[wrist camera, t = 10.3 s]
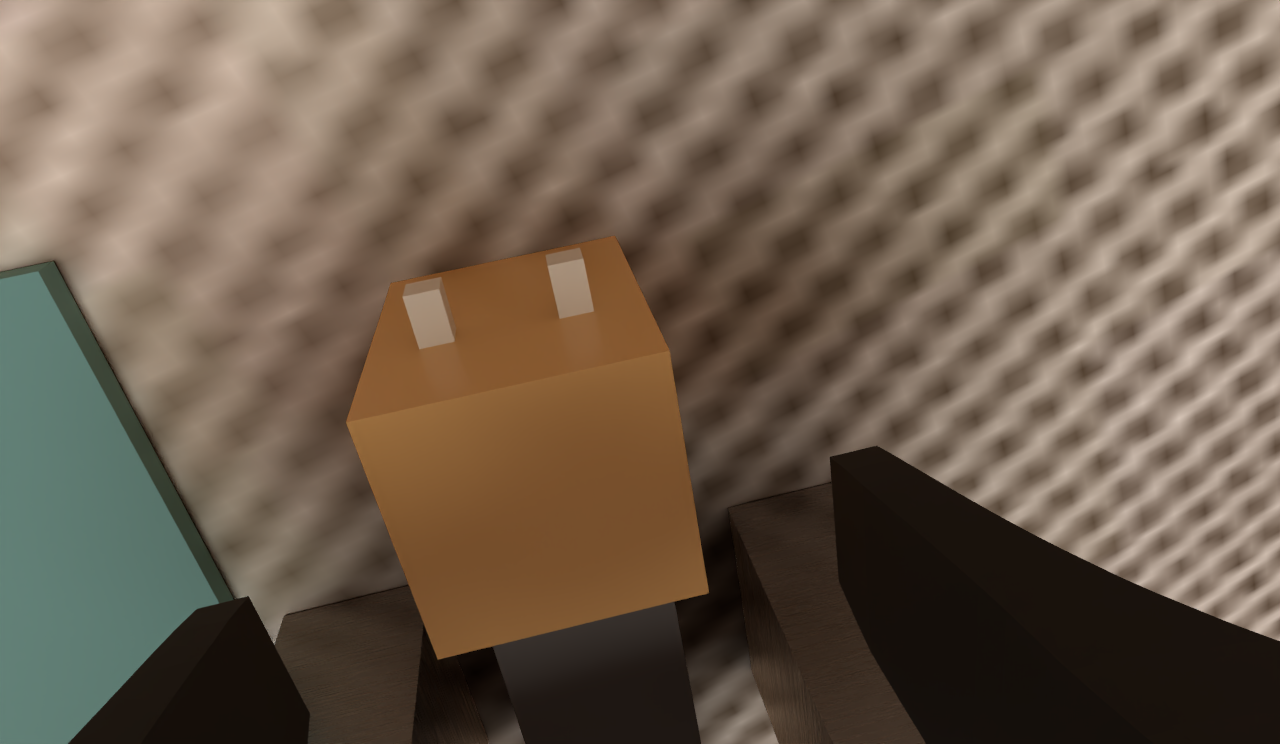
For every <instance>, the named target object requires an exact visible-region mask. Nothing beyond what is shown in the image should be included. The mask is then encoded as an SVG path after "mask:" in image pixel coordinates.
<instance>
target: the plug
mask: <svg viewBox="0 0 1280 744" xmlns="http://www.w3.org/2000/svg"><path fill="white" fill-rule="evenodd" d="M346 424H347V427H348V429H349V432H350V435H351V437H352V440H353V442H354V445H355V447H356V450H357V453H358V455H359V458H360V460H361V463H362V466H363V468H364V471H365V473H366V476H367V478H368V481H369V484H370V486H371V489H372V491H373V494H374V496H375V499H376V502H377V504H378V507H379V509H380V512H381V515H382V517H383V520H384V522H385V525H386V527H387V530H388V533H389V535H390V538H391V540H392V543H393V545H394V548H395V551H396V553H397V556H398V558H399V561H400V564H401V566H402V569H403V571H404V574H405V576H406V579H407V582H408V584H409V587H410V589H411V592H412V594H413V597H414V600H415V602H416V605H417V607H418V610H419V613H420V615H421V618H422V620H423V623H424V625H425V628H426V631H427V633H428V636H429V638H430V641H431V643H432V646H433V649H434V651H435V654H436V656H437V659H442V658H447V657H451V656H455V655H459V654H463V653H467V652H471V651H475V650H479V649H483V648H487V647H491V646H495V645H499V644H504V643H508V642H512V641H516V640H520V639H524V638H528V637H532V636H536V635H540V634H544V633H548V632H552V631H557V630H561V629H565V628H569V627H573V626H577V625H581V624H585V623H589V622H593V621H597V620H601V619H605V618H609V617H614V616H618V615H622V614H626V613H630V612H634V611H638V610H642V609H646V608H650V607H654V606H658V605H662V604H666V603H671V602H675V601H679V600H683V599H687V598H691V597H695V596H699V595H703V594H707V593H709V590H708V583H707V577H706V571H705V565H704V559H703V553H702V547H701V541H700V534H699V528H698V522H697V516H696V510H695V504H694V498H693V491H692V485H691V479H690V473H689V467H688V461H687V455H686V448H685V442H684V436H683V430H682V424H681V418H680V412H679V406H678V399H677V393H676V387H675V381H674V375H673V369H672V363H671V356H670V351H669V348H668V346H667V344H666V342H665V340H664V338H663V336H662V334H661V332H660V330H659V327H658V325H657V323H656V321H655V319H654V317H653V315H652V313H651V311H650V308H649V306H648V304H647V302H646V300H645V298H644V296H643V294H642V292H641V290H640V287H639V285H638V283H637V281H636V279H635V277H634V275H633V273H632V271H631V269H630V266H629V264H628V262H627V260H626V258H625V256H624V254H623V252H622V250H621V247H620V245H619V243H618V241H617V239H616V237H615V236H612V237H607V238H602V239H597V240H593V241H588V242H583V243H578V244H574V245H569V246H564V247H559V248H555V249H550V250H545V251H540V252H536V253H531V254H526V255H521V256H517V257H512V258H507V259H502V260H498V261H493V262H488V263H483V264H479V265H474V266H469V267H465V268H460V269H455V270H450V271H446V272H441V273H436V274H431V275H427V276H422V277H417V278H412V279H408V280H403V281H398V282H393V283H391V284H390V287H389V291H388V294H387V297H386V300H385V303H384V306H383V309H382V312H381V315H380V318H379V321H378V325H377V328H376V331H375V334H374V337H373V340H372V343H371V346H370V349H369V352H368V356H367V359H366V362H365V365H364V368H363V371H362V374H361V377H360V380H359V383H358V386H357V390H356V393H355V396H354V399H353V402H352V405H351V408H350V411H349V414H348V417H347V421H346Z"/></svg>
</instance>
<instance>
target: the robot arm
mask: <svg viewBox="0 0 1280 744" xmlns="http://www.w3.org/2000/svg"><path fill="white" fill-rule="evenodd" d="M830 466H831V480H832V494H833V508H834V522H835V536H836V551H837V565H838V579H839V583H840V585H841V588H842V590H843V592H844V594H845V597H846V599H847V601H848V604H849V606H850V608H851V610H852V613H853V615H854V617H855V619H856V622H857V624H858V626H859V628H860V630H861V632H862V634H863V637H864V639H865V641H866V643H867V645H868V647H869V649H870V652H871V653H872V655H873V657H874V658H875V660H876V662H877V664H878V665H879V667H880V669H881V670H882V672H883V674H884V675H885V677H886V679H887V680H888V682H889V684H890V685H891V687H892V689H893V690H894V692H895V694H896V695H897V697H898V699H899V700H900V702H901V704H902V705H903V707H904V709H905V710H906V712H907V713H908V715H909V717H910V718H911V720H912V722H913V723H914V725H915V727H916V728H917V730H918V731H919V733H920V735H921V736H922V738H923V740H924V741H925V743H926V744H1280V641H1277V640H1274V639H1272V638H1269V637H1266V636H1264V635H1261V634H1258V633H1255V632H1253V631H1250V630H1247V629H1245V628H1242V627H1239V626H1237V625H1234V624H1231V623H1229V622H1226V621H1223V620H1221V619H1219V618H1216V617H1214V616H1211V615H1209V614H1206V613H1204V612H1201V611H1199V610H1197V609H1194V608H1192V607H1189V606H1187V605H1184V604H1182V603H1179V602H1177V601H1175V600H1172V599H1170V598H1167V597H1165V596H1162V595H1160V594H1157V593H1155V592H1153V591H1150V590H1148V589H1146V588H1143V587H1141V586H1139V585H1137V584H1134V583H1132V582H1130V581H1128V580H1125V579H1123V578H1121V577H1119V576H1117V575H1114V574H1112V573H1110V572H1108V571H1106V570H1104V569H1102V568H1100V567H1098V566H1096V565H1094V564H1092V563H1090V562H1088V561H1086V560H1083V559H1081V558H1079V557H1077V556H1075V555H1073V554H1071V553H1069V552H1067V551H1065V550H1063V549H1061V548H1059V547H1057V546H1055V545H1053V544H1051V543H1049V542H1047V541H1045V540H1043V539H1041V538H1039V537H1037V536H1035V535H1033V534H1032V533H1030V532H1028V531H1026V530H1024V529H1022V528H1020V527H1018V526H1017V525H1015V524H1013V523H1011V522H1009V521H1007V520H1005V519H1004V518H1002V517H1000V516H998V515H996V514H995V513H993V512H991V511H989V510H987V509H986V508H984V507H982V506H980V505H978V504H977V503H975V502H973V501H971V500H970V499H968V498H966V497H964V496H963V495H961V494H959V493H957V492H956V491H954V490H952V489H951V488H949V487H947V486H945V485H944V484H942V483H940V482H939V481H937V480H935V479H933V478H932V477H930V476H928V475H927V474H925V473H923V472H921V471H920V470H918V469H916V468H915V467H913V466H911V465H910V464H908V463H906V462H904V461H903V460H901V459H899V458H898V457H896V456H894V455H892V454H891V453H889V452H887V451H885V450H883V449H882V448H880V447H878V446H874V447H870V448H866V449H861V450H857V451H853V452H849V453H845V454H841V455H836V456H832V457H830ZM309 721H310V713H309V711H308V709H307V707H306V705H305V703H304V701H303V699H302V697H301V695H300V694H299V692H298V690H297V688H296V686H295V684H294V682H293V680H292V678H291V676H290V674H289V673H288V671H287V669H286V667H285V665H284V663H283V661H282V659H281V657H280V655H279V653H278V652H277V650H276V648H275V646H274V644H273V642H272V640H271V638H270V636H269V634H268V632H267V631H266V629H265V627H264V625H263V623H262V621H261V619H260V617H259V615H258V613H257V611H256V610H255V608H254V606H253V604H252V602H251V600H250V598H249V596H248V597H244V598H240V599H235V600H231V601H227V602H223V603H219V604H215V605H210V606H206V607H202V608H198V609H196V610H195V611H194V612H193V613H192V614H191V615H190V616H189V617H188V618H187V619H186V620H185V621H183V622H182V623H181V624H180V625H179V626H178V627H177V628H176V629H175V630H174V631H173V632H172V633H171V634H170V636H169V637H168V638H167V639H166V640H165V641H164V642H163V643H162V644H161V645H160V646H159V647H158V648H157V649H156V650H155V651H154V652H153V653H152V654H151V655H150V656H149V658H148V659H147V660H146V661H145V662H144V663H143V664H142V665H141V666H140V667H139V668H138V669H137V670H136V671H135V672H134V674H133V675H132V676H131V677H130V678H129V679H128V680H127V681H126V682H125V683H124V684H123V685H122V686H121V688H120V689H119V690H118V691H117V692H116V693H115V694H114V695H113V696H112V697H111V698H110V699H109V700H108V701H107V703H106V704H105V705H104V706H103V707H102V708H101V709H100V710H99V711H98V712H97V713H96V714H95V715H94V716H93V717H92V718H91V720H90V721H89V722H88V723H87V724H86V725H85V726H84V727H83V728H82V729H81V730H80V731H79V732H78V733H77V734H76V735H75V737H74V738H73V739H72V740H71V741H70V742H69V743H68V744H308V732H309Z"/></svg>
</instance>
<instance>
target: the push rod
mask: <svg viewBox="0 0 1280 744" xmlns="http://www.w3.org/2000/svg"><path fill="white" fill-rule="evenodd" d="M493 649H494V652H495V655H496V658H497V661H498V663H499V666H500V669H501V672H502V675H503V678H504V681H505V684H506V687H507V690H508V693H509V696H510V699H511V702H512V705H513V708H514V711H515V714H516V717H517V720H518V723H519V726H520V729H521V732H522V735H523V738H524V741H525V744H701V740H700V735H699V730H698V724H697V719H696V714H695V708H694V703H693V698H692V692H691V687H690V682H689V676H688V671H687V666H686V660H685V655H684V650H683V644H682V639H681V634H680V628H679V623H678V618H677V612H676V607H675V602H671V603H666V604H662V605H658V606H654V607H650V608H646V609H642V610H638V611H634V612H630V613H626V614H622V615H618V616H614V617H609V618H605V619H601V620H597V621H593V622H589V623H585V624H581V625H577V626H573V627H569V628H565V629H561V630H557V631H552V632H548V633H544V634H540V635H536V636H532V637H528V638H524V639H520V640H516V641H512V642H508V643H504V644H499V645H495V646H493Z"/></svg>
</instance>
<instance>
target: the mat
mask: <svg viewBox="0 0 1280 744" xmlns="http://www.w3.org/2000/svg"><path fill="white" fill-rule="evenodd" d="M231 600H234V599H233V597H232V595H231V593H230V591H229V589H228V588H227V586H226V584H225V582H224V580H223V578H222V576H221V574H220V573H219V571H218V569H217V567H216V565H215V563H214V561H213V559H212V558H211V556H210V554H209V552H208V550H207V548H206V546H205V544H204V543H203V541H202V539H201V537H200V535H199V533H198V531H197V529H196V528H195V526H194V524H193V522H192V520H191V518H190V516H189V514H188V513H187V511H186V509H185V507H184V505H183V503H182V501H181V499H180V498H179V496H178V494H177V492H176V490H175V488H174V486H173V484H172V483H171V481H170V479H169V477H168V475H167V473H166V471H165V469H164V468H163V466H162V464H161V462H160V460H159V458H158V456H157V454H156V453H155V451H154V449H153V447H152V445H151V443H150V441H149V439H148V438H147V436H146V434H145V432H144V430H143V428H142V426H141V424H140V423H139V421H138V419H137V417H136V415H135V413H134V411H133V409H132V408H131V406H130V404H129V402H128V400H127V398H126V396H125V394H124V393H123V391H122V389H121V387H120V385H119V383H118V381H117V379H116V378H115V376H114V374H113V372H112V370H111V368H110V366H109V364H108V363H107V361H106V359H105V357H104V355H103V353H102V351H101V349H100V348H99V346H98V344H97V342H96V340H95V338H94V336H93V334H92V333H91V331H90V329H89V327H88V325H87V323H86V321H85V319H84V318H83V316H82V314H81V312H80V310H79V308H78V306H77V304H76V303H75V301H74V299H73V297H72V295H71V293H70V291H69V289H68V288H67V286H66V284H65V282H64V280H63V278H62V276H61V274H60V273H59V271H58V269H57V267H56V265H55V263H54V261H52V262H47V263H43V264H38V265H33V266H28V267H23V268H19V269H14V270H9V271H4V272H0V744H68V743H69V742H70V741H71V740H72V739H73V738H74V737H75V735H76V734H77V733H78V732H79V731H80V730H81V729H82V728H83V727H84V726H85V725H86V724H87V723H88V722H89V721H90V720H91V718H92V717H93V716H94V715H95V714H96V713H97V712H98V711H99V710H100V709H101V708H102V707H103V706H104V705H105V704H106V703H107V701H108V700H109V699H110V698H111V697H112V696H113V695H114V694H115V693H116V692H117V691H118V690H119V689H120V688H121V686H122V685H123V684H124V683H125V682H126V681H127V680H128V679H129V678H130V677H131V676H132V675H133V674H134V672H135V671H136V670H137V669H138V668H139V667H140V666H141V665H142V664H143V663H144V662H145V661H146V660H147V659H148V658H149V656H150V655H151V654H152V653H153V652H154V651H155V650H156V649H157V648H158V647H159V646H160V645H161V644H162V643H163V642H164V641H165V640H166V639H167V638H168V637H169V636H170V634H171V633H172V632H173V631H174V630H175V629H176V628H177V627H178V626H179V625H180V624H181V623H182V622H183V621H185V620H186V619H187V618H188V617H189V616H190V615H191V614H192V613H193V612H194V611H195V610H196V609H198V608H202V607H206V606H210V605H215V604H219V603H223V602H227V601H231Z"/></svg>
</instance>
